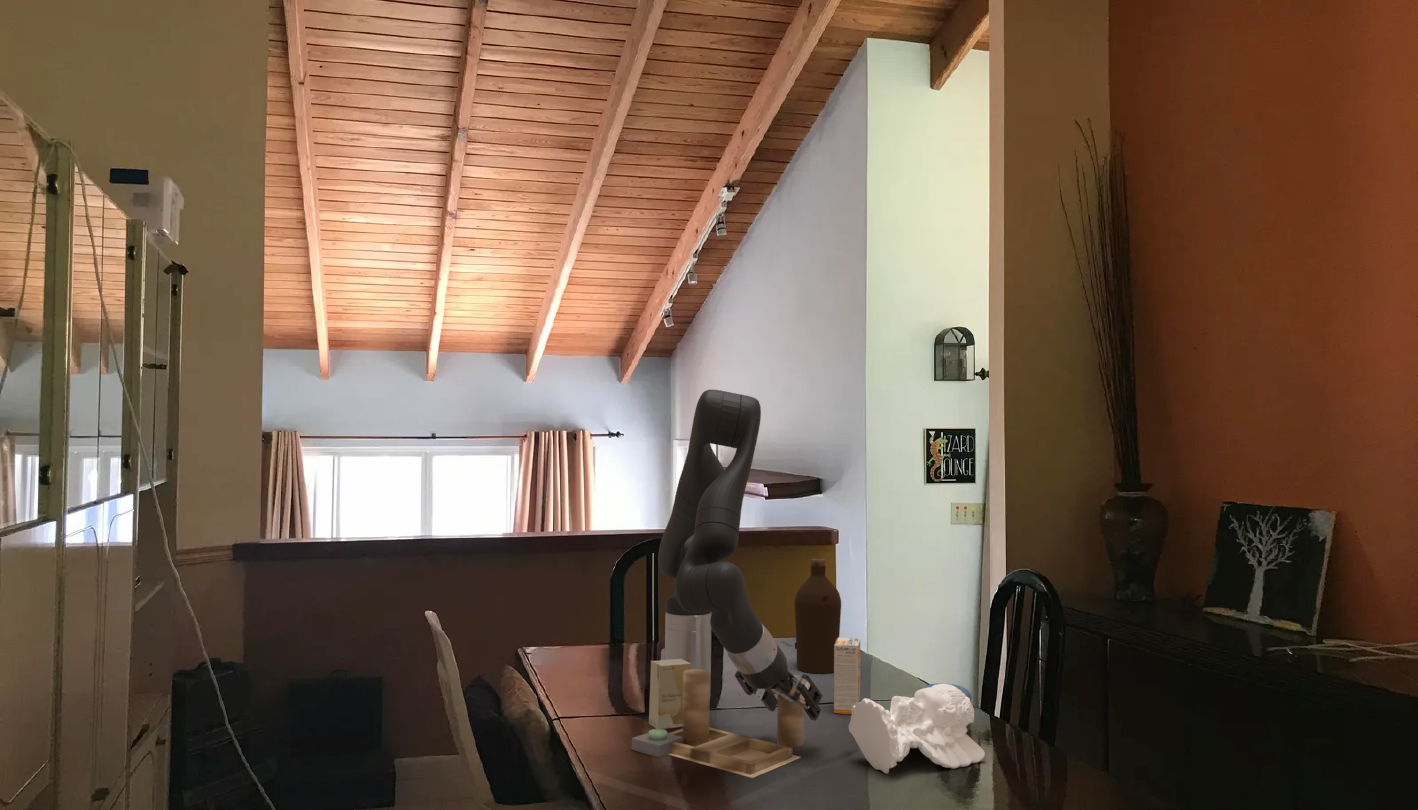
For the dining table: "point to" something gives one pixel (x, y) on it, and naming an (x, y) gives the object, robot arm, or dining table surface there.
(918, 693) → the cherub figurine
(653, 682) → the skincare box
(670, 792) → the dining table surface
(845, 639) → the supplement box
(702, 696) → the cylinder
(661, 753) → the block
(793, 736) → the loose billet
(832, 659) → the olive oil
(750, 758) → the wooden tray
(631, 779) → the dining table surface
